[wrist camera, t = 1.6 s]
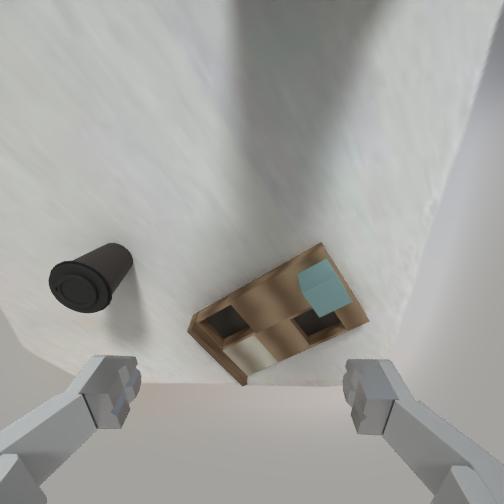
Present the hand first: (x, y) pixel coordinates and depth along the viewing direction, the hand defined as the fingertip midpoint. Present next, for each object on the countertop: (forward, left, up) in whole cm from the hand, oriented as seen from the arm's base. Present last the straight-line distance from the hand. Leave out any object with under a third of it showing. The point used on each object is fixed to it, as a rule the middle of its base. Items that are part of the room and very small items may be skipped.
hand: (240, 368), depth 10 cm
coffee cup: (+24, -5, -29) cm, 38 cm away
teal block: (-2, +15, -26) cm, 30 cm away
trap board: (+8, +19, -29) cm, 36 cm away
